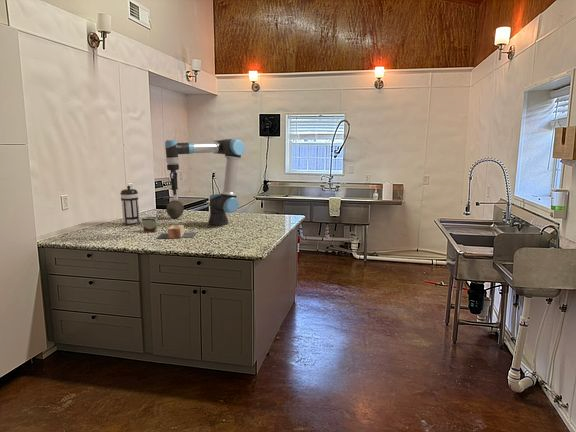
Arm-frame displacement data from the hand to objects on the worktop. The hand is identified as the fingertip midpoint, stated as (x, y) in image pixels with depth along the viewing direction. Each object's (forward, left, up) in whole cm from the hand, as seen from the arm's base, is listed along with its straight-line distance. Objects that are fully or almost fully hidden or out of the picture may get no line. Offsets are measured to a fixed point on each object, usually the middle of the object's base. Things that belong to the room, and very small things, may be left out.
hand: (175, 199), depth 269 cm
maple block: (0, +9, -21) cm, 23 cm away
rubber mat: (0, +1, -25) cm, 25 cm away
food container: (+21, -16, -25) cm, 37 cm away
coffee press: (+43, -43, -25) cm, 66 cm away
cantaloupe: (+14, -63, -25) cm, 70 cm away
